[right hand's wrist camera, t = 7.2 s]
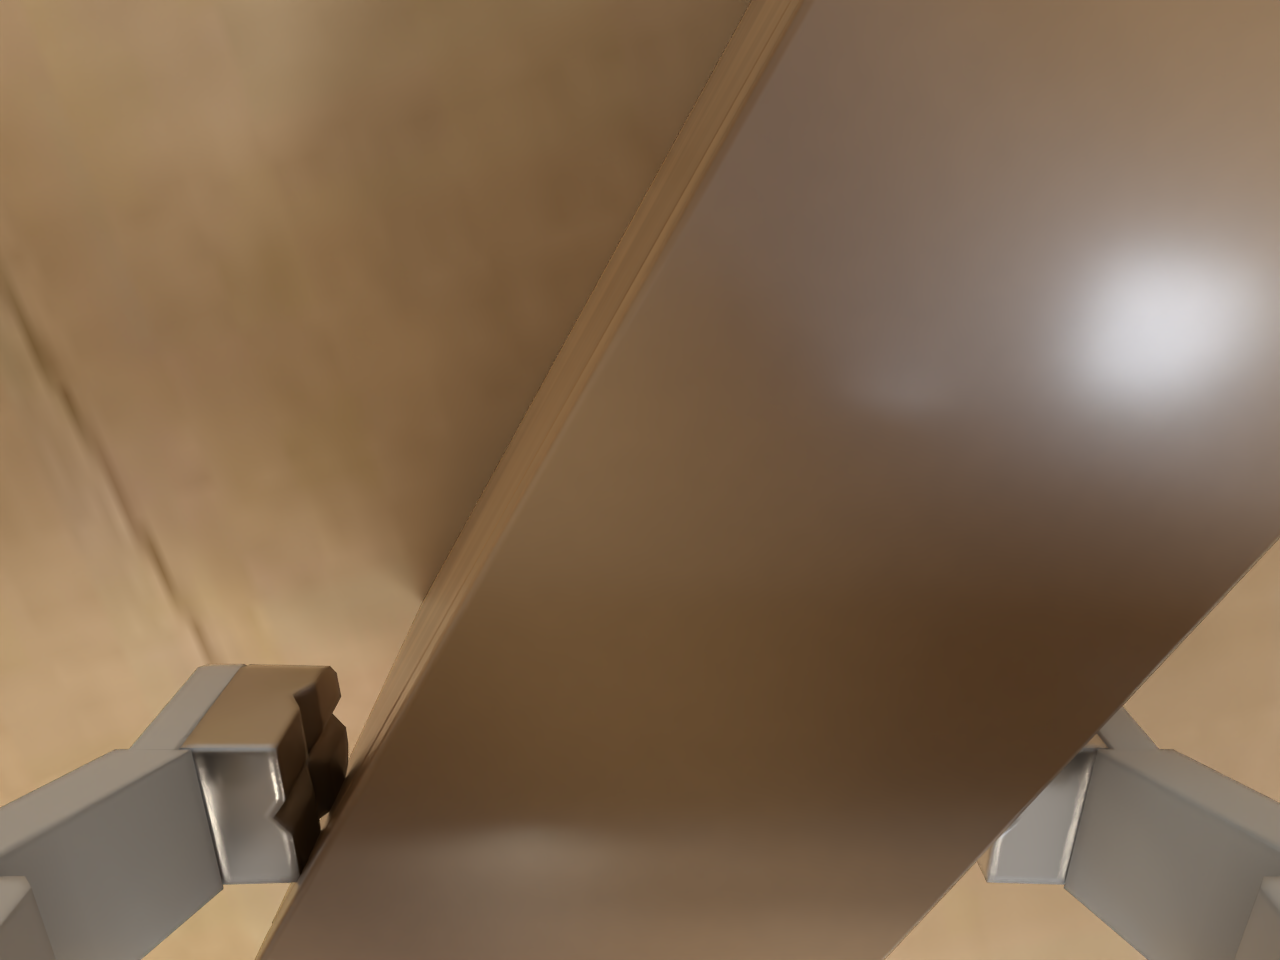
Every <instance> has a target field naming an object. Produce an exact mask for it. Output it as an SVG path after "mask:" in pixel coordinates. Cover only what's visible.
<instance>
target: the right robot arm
mask: <svg viewBox="0 0 1280 960" xmlns="http://www.w3.org/2000/svg"><path fill="white" fill-rule="evenodd" d="M340 698H341V693H340V688H339V683H338V678H337V673H336V672H335V671H334V670H333V669H332V668H331V667H330V666H306V665H258V664H250V665H245V664H208V665H205V666H201V667H198V668H197V669H196V670H195V671H194V673H193V674H192V675H191V676H190V677H189V679H188V680H187V681H186V682H185V683H184V684H183V686H182V687H181V688H180V689H179V690H178V692H177V693H176V694H175V695H174V696H173V697H172V699H171V700H170V701H169V702H168V703H167V705H166V706H165V707H164V708H163V709H162V711H161V712H160V713H159V714H158V715H157V716H156V718H155V719H154V720H153V721H152V722H151V724H150V725H149V726H148V727H147V728H146V729H145V731H144V732H143V733H142V734H141V735H140V737H139V738H138V739H137V740H136V741H135V742H134V744H133V745H132V746H131V747H130V748H129V749H115V750H113V751H111V752H109V753H107V754H105V755H103V756H101V757H99V758H97V759H95V760H93V761H91V762H89V763H87V764H85V765H83V766H81V767H79V768H77V769H75V770H74V771H72V772H70V773H68V774H66V775H64V776H62V777H60V778H58V779H56V780H54V781H52V782H50V783H48V784H46V785H44V786H42V787H40V788H38V789H36V790H34V791H32V792H30V793H28V794H26V795H24V796H22V797H20V798H18V799H16V800H14V801H12V802H10V803H8V804H6V805H4V806H2V807H0V960H141V959H142V958H143V957H144V956H146V955H147V954H148V953H149V952H150V951H151V950H153V949H154V948H155V947H156V946H157V945H158V944H160V943H161V942H162V941H163V940H164V939H165V938H167V937H168V936H169V935H170V934H171V933H172V932H174V931H175V930H176V929H177V928H178V927H179V926H181V925H182V924H183V923H184V922H185V921H186V920H188V919H189V918H190V917H191V916H192V915H193V914H195V913H196V912H197V911H198V910H199V909H200V908H201V907H203V906H204V905H205V904H206V903H207V902H208V901H210V900H211V899H212V898H213V897H214V896H215V895H217V894H218V893H219V892H220V891H221V890H222V889H223V884H258V883H292V882H297V881H298V879H299V877H300V875H301V873H302V871H303V869H304V867H305V865H306V864H307V862H308V860H309V856H310V854H311V852H312V849H313V847H314V845H315V843H316V841H317V839H318V836H319V834H320V832H321V826H320V820H319V819H320V818H321V817H323V816H324V815H326V814H327V813H328V812H329V811H330V809H331V808H332V806H333V804H334V802H335V800H336V797H337V795H338V793H339V791H340V789H341V786H342V784H343V782H344V780H345V778H346V773H347V768H348V739H347V732H346V727H345V726H344V725H343V724H342V723H341V722H340V721H339V720H338V719H337V718H336V717H335V716H334V715H333V714H332V713H333V711H334V709H335V707H336V705H337V703H338V701H339V700H340ZM977 863H978V865H979V867H980V869H981V871H982V873H983V875H984V878H985V880H986V882H993V883H1029V884H1065V886H1064V888H1065V889H1066V890H1067V891H1068V892H1069V893H1070V894H1072V895H1073V896H1074V897H1075V898H1076V899H1077V900H1079V901H1080V902H1081V903H1082V904H1083V905H1084V906H1086V907H1087V908H1088V909H1089V910H1090V911H1091V912H1093V913H1094V914H1095V915H1096V916H1097V917H1098V918H1100V919H1101V920H1102V921H1103V922H1104V923H1105V924H1107V925H1108V926H1109V927H1110V928H1111V929H1113V930H1114V931H1115V932H1116V933H1117V934H1118V935H1120V936H1121V937H1122V938H1123V939H1124V940H1125V941H1127V942H1128V943H1129V944H1130V945H1131V946H1132V947H1134V948H1135V949H1136V950H1137V951H1138V952H1139V953H1141V954H1142V955H1143V956H1144V957H1145V958H1146V959H1148V960H1280V803H1279V802H1277V801H1275V800H1273V799H1271V798H1269V797H1267V796H1265V795H1263V794H1261V793H1259V792H1257V791H1255V790H1253V789H1251V788H1249V787H1247V786H1245V785H1243V784H1241V783H1239V782H1237V781H1235V780H1233V779H1231V778H1229V777H1227V776H1225V775H1223V774H1221V773H1219V772H1217V771H1215V770H1213V769H1211V768H1209V767H1207V766H1205V765H1203V764H1201V763H1199V762H1197V761H1195V760H1193V759H1191V758H1189V757H1187V756H1185V755H1183V754H1181V753H1179V752H1177V751H1175V750H1173V749H1159V748H1158V747H1157V746H1156V745H1155V744H1154V742H1153V741H1152V740H1151V739H1150V738H1149V737H1148V735H1147V734H1146V733H1145V732H1144V731H1143V730H1142V728H1141V727H1140V726H1139V725H1138V724H1137V723H1136V721H1135V720H1134V719H1133V718H1132V717H1131V716H1130V714H1129V713H1128V712H1127V711H1126V710H1125V709H1124V707H1123V706H1122V707H1121V708H1120V709H1119V710H1118V711H1117V712H1116V713H1115V714H1114V715H1113V716H1112V717H1111V719H1110V720H1109V721H1108V722H1107V723H1106V724H1105V725H1104V726H1103V727H1102V728H1101V729H1100V730H1099V731H1098V732H1097V733H1096V735H1095V736H1094V737H1093V738H1092V739H1091V740H1090V741H1089V742H1088V743H1087V744H1086V745H1085V746H1084V747H1083V748H1082V749H1081V751H1080V752H1079V753H1078V754H1077V755H1076V756H1075V757H1074V758H1073V759H1072V760H1071V761H1070V762H1069V763H1068V764H1067V765H1066V767H1065V768H1064V769H1063V770H1062V771H1061V772H1060V773H1059V774H1058V775H1057V776H1056V777H1055V778H1054V779H1053V780H1052V781H1051V783H1050V784H1049V785H1048V786H1047V787H1046V788H1045V789H1044V790H1043V791H1042V792H1041V793H1040V794H1039V795H1038V796H1037V797H1036V799H1035V800H1034V801H1033V802H1032V803H1031V804H1030V805H1029V806H1028V807H1027V808H1026V809H1025V810H1024V811H1023V812H1022V813H1021V815H1020V816H1019V817H1018V818H1017V819H1016V820H1015V821H1014V822H1013V823H1012V824H1011V825H1010V826H1009V827H1008V828H1007V830H1006V831H1005V832H1004V833H1003V834H1002V835H1001V836H1000V837H999V838H998V839H997V840H996V841H995V842H994V843H993V844H992V846H991V847H990V848H989V849H988V850H987V851H986V852H985V853H984V854H983V855H982V856H981V857H980V858H979V859H978V860H977Z"/></svg>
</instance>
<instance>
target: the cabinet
mask: <svg viewBox="0 0 1280 960" xmlns="http://www.w3.org/2000/svg"><path fill="white" fill-rule="evenodd" d="M1279 538H1280V0H752V1H751V2H750V4H749V6H748V8H747V10H746V12H745V13H744V15H743V17H742V19H741V21H740V23H739V24H738V26H737V28H736V30H735V32H734V34H733V35H732V37H731V39H730V41H729V43H728V45H727V46H726V48H725V50H724V52H723V54H722V55H721V57H720V59H719V61H718V63H717V65H716V66H715V68H714V70H713V72H712V74H711V76H710V77H709V79H708V81H707V83H706V85H705V87H704V88H703V90H702V92H701V94H700V96H699V98H698V99H697V101H696V103H695V105H694V107H693V109H692V110H691V112H690V114H689V116H688V118H687V119H686V121H685V123H684V125H683V127H682V129H681V130H680V132H679V134H678V136H677V138H676V140H675V141H674V143H673V145H672V147H671V149H670V151H669V152H668V154H667V156H666V158H665V160H664V162H663V163H662V165H661V167H660V169H659V171H658V173H657V174H656V176H655V178H654V180H653V182H652V183H651V185H650V187H649V189H648V191H647V193H646V194H645V196H644V198H643V200H642V202H641V204H640V205H639V207H638V209H637V211H636V213H635V215H634V216H633V218H632V220H631V222H630V224H629V226H628V227H627V229H626V231H625V233H624V235H623V237H622V238H621V240H620V242H619V244H618V246H617V247H616V249H615V251H614V253H613V255H612V257H611V258H610V260H609V262H608V264H607V266H606V268H605V269H604V271H603V273H602V275H601V277H600V279H599V280H598V282H597V284H596V286H595V288H594V290H593V291H592V293H591V295H590V297H589V299H588V301H587V302H586V304H585V306H584V308H583V310H582V311H581V313H580V315H579V317H578V319H577V321H576V322H575V324H574V326H573V328H572V330H571V332H570V333H569V335H568V337H567V339H566V341H565V343H564V344H563V346H562V348H561V350H560V352H559V354H558V355H557V357H556V359H555V361H554V363H553V365H552V366H551V368H550V370H549V372H548V374H547V375H546V377H545V379H544V381H543V383H542V385H541V386H540V388H539V390H538V392H537V394H536V396H535V397H534V399H533V401H532V403H531V405H530V407H529V408H528V410H527V412H526V414H525V416H524V418H523V419H522V421H521V423H520V425H519V427H518V429H517V430H516V432H515V434H514V436H513V438H512V439H511V441H510V443H509V445H508V447H507V449H506V450H505V452H504V454H503V456H502V458H501V460H500V461H499V463H498V465H497V467H496V469H495V471H494V472H493V474H492V476H491V478H490V480H489V482H488V483H487V485H486V487H485V489H484V491H483V493H482V494H481V496H480V498H479V500H478V502H477V503H476V505H475V507H474V509H473V511H472V513H471V514H470V516H469V518H468V520H467V522H466V524H465V525H464V527H463V529H462V531H461V533H460V535H459V536H458V538H457V540H456V542H455V544H454V546H453V547H452V549H451V551H450V553H449V555H448V557H447V558H446V560H445V562H444V564H443V566H442V567H441V569H440V571H439V573H438V575H437V577H436V578H435V580H434V582H433V584H432V586H431V588H430V589H429V591H428V593H427V595H426V597H425V599H424V600H423V602H422V604H421V606H420V608H419V610H418V613H417V615H416V617H415V619H414V621H413V623H412V626H411V628H410V630H409V632H408V634H407V636H406V638H405V641H404V643H403V645H402V647H401V649H400V651H399V653H398V655H397V658H396V660H395V662H394V664H393V666H392V668H391V670H390V672H389V675H388V677H387V679H386V681H385V683H384V685H383V687H382V690H381V692H380V694H379V696H378V698H377V700H376V702H375V704H374V707H373V709H372V711H371V713H370V715H369V717H368V719H367V722H366V724H365V726H364V728H363V730H362V732H361V734H360V736H359V739H358V741H357V743H356V745H355V747H354V749H353V751H352V754H351V756H350V758H349V760H348V768H347V773H346V778H345V780H344V782H343V784H342V786H341V789H340V791H339V793H338V795H337V797H336V800H335V802H334V804H333V806H332V808H331V809H330V811H329V812H328V813H327V814H326V815H324V816H323V817H322V818H321V820H320V826H321V832H320V834H319V836H318V839H317V841H316V843H315V845H314V847H313V849H312V852H311V854H310V856H309V860H308V862H307V864H306V865H305V867H304V869H303V871H302V873H301V875H300V877H299V879H298V881H297V882H292V883H291V884H290V886H289V888H288V890H287V892H286V894H285V896H284V899H283V901H282V903H281V905H280V907H279V909H278V911H277V913H276V916H275V918H274V920H273V922H272V926H271V928H270V930H269V931H268V933H267V935H266V937H265V939H264V941H263V943H262V946H261V948H260V950H259V952H258V954H257V956H256V958H255V960H885V959H886V958H887V956H888V955H889V954H890V953H891V952H892V951H893V950H894V949H895V948H896V947H897V946H898V945H899V944H900V943H901V942H902V940H903V939H904V938H905V937H906V936H907V935H908V934H909V933H910V932H911V931H912V930H913V929H914V928H915V927H916V926H917V924H918V923H919V922H920V921H921V920H922V919H923V918H924V917H925V916H926V915H927V914H928V913H929V912H930V911H931V910H932V908H933V907H934V906H935V905H936V904H937V903H938V902H939V901H940V900H941V899H942V898H943V897H944V896H945V895H946V894H947V892H948V891H949V890H950V889H951V888H952V887H953V886H954V885H955V884H956V883H957V882H958V881H959V880H960V879H961V878H962V876H963V875H964V874H965V873H966V872H967V871H968V870H969V869H970V868H971V867H972V866H973V865H974V864H975V863H976V862H977V860H978V859H979V858H980V857H981V856H982V855H983V854H984V853H985V852H986V851H987V850H988V849H989V848H990V847H991V846H992V844H993V843H994V842H995V841H996V840H997V839H998V838H999V837H1000V836H1001V835H1002V834H1003V833H1004V832H1005V831H1006V830H1007V828H1008V827H1009V826H1010V825H1011V824H1012V823H1013V822H1014V821H1015V820H1016V819H1017V818H1018V817H1019V816H1020V815H1021V813H1022V812H1023V811H1024V810H1025V809H1026V808H1027V807H1028V806H1029V805H1030V804H1031V803H1032V802H1033V801H1034V800H1035V799H1036V797H1037V796H1038V795H1039V794H1040V793H1041V792H1042V791H1043V790H1044V789H1045V788H1046V787H1047V786H1048V785H1049V784H1050V783H1051V781H1052V780H1053V779H1054V778H1055V777H1056V776H1057V775H1058V774H1059V773H1060V772H1061V771H1062V770H1063V769H1064V768H1065V767H1066V765H1067V764H1068V763H1069V762H1070V761H1071V760H1072V759H1073V758H1074V757H1075V756H1076V755H1077V754H1078V753H1079V752H1080V751H1081V749H1082V748H1083V747H1084V746H1085V745H1086V744H1087V743H1088V742H1089V741H1090V740H1091V739H1092V738H1093V737H1094V736H1095V735H1096V733H1097V732H1098V731H1099V730H1100V729H1101V728H1102V727H1103V726H1104V725H1105V724H1106V723H1107V722H1108V721H1109V720H1110V719H1111V717H1112V716H1113V715H1114V714H1115V713H1116V712H1117V711H1118V710H1119V709H1120V708H1121V707H1122V706H1123V705H1124V704H1125V703H1126V701H1127V700H1128V699H1129V698H1130V697H1131V696H1132V695H1133V694H1134V693H1135V692H1136V691H1137V690H1138V689H1139V688H1140V687H1141V685H1142V684H1143V683H1144V682H1145V681H1146V680H1147V679H1148V678H1149V677H1150V676H1151V675H1152V674H1153V673H1154V672H1155V671H1156V669H1157V668H1158V667H1159V666H1160V665H1161V664H1162V663H1163V662H1164V661H1165V660H1166V659H1167V658H1168V657H1169V656H1170V655H1171V653H1172V652H1173V651H1174V650H1175V649H1176V648H1177V647H1178V646H1179V645H1180V644H1181V643H1182V642H1183V641H1184V640H1185V639H1186V637H1187V636H1188V635H1189V634H1190V633H1191V632H1192V631H1193V630H1194V629H1195V628H1196V627H1197V626H1198V625H1199V624H1200V623H1201V621H1202V620H1203V619H1204V618H1205V617H1206V616H1207V615H1208V614H1209V613H1210V612H1211V611H1212V610H1213V609H1214V608H1215V606H1216V605H1217V604H1218V603H1219V602H1220V601H1221V600H1222V599H1223V598H1224V597H1225V596H1226V595H1227V594H1228V593H1229V592H1230V590H1231V589H1232V588H1233V587H1234V586H1235V585H1236V584H1237V583H1238V582H1239V581H1240V580H1241V579H1242V578H1243V577H1244V576H1245V574H1246V573H1247V572H1248V571H1249V570H1250V569H1251V568H1252V567H1253V566H1254V565H1255V564H1256V563H1257V562H1258V561H1259V560H1260V558H1261V557H1262V556H1263V555H1264V554H1265V553H1266V552H1267V551H1268V550H1269V549H1270V548H1271V547H1272V546H1273V545H1274V544H1275V542H1276V541H1277V540H1278V539H1279Z"/></svg>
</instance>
